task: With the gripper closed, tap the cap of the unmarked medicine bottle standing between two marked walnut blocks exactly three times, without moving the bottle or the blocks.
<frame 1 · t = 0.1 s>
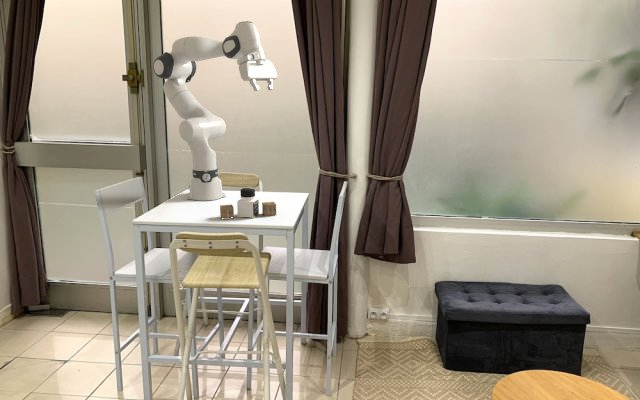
hand: (263, 90, 230), 52 cm above the table, tool tilted 20°, fingers open, 8 cm apart
walnut block one bar: (227, 217, 226), on the table
walnut block two bars: (269, 214, 231), on the table
medicine bottle: (248, 216, 229), on the table
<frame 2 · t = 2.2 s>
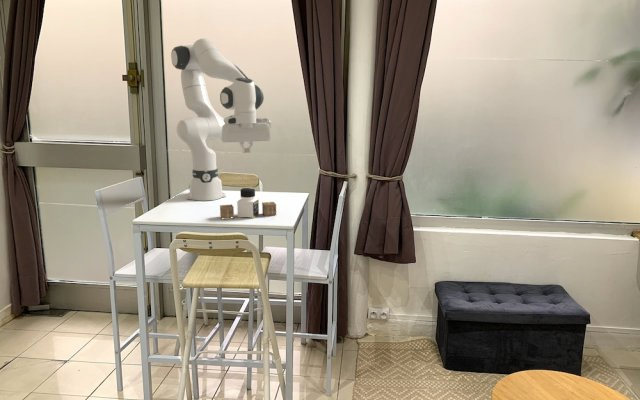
hand: (246, 152, 222), 27 cm above the table, tool pointing down, fingers closed
nothing on the table moved.
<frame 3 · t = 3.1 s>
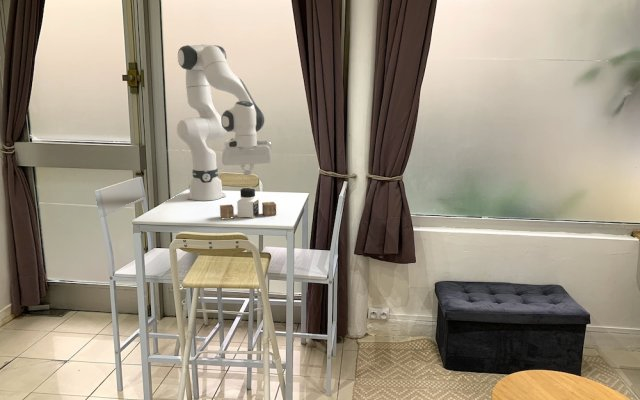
hand: (247, 174, 224), 18 cm above the table, tool pointing down, fingers closed
nothing on the table moved.
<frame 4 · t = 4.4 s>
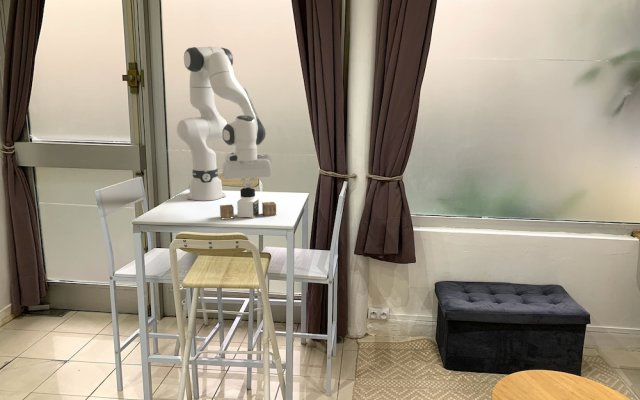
hand: (247, 188, 226), 12 cm above the table, tool pointing down, fingers closed, pressing on medicine bottle
medicine bottle: (248, 216, 229), on the table, touching gripper
everything else where it was.
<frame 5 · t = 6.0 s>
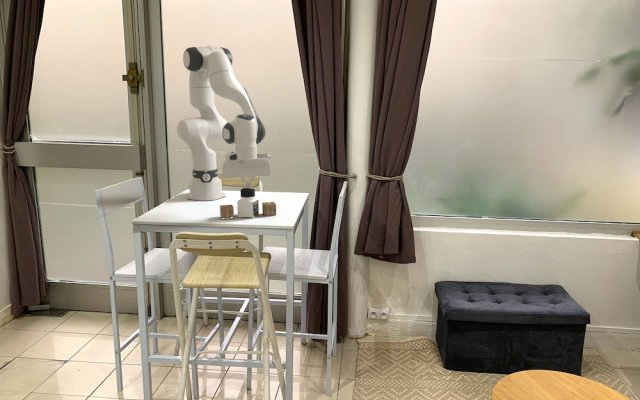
hand: (247, 187, 226), 12 cm above the table, tool pointing down, fingers closed
medicine bottle: (248, 216, 229), on the table
everything else where it was.
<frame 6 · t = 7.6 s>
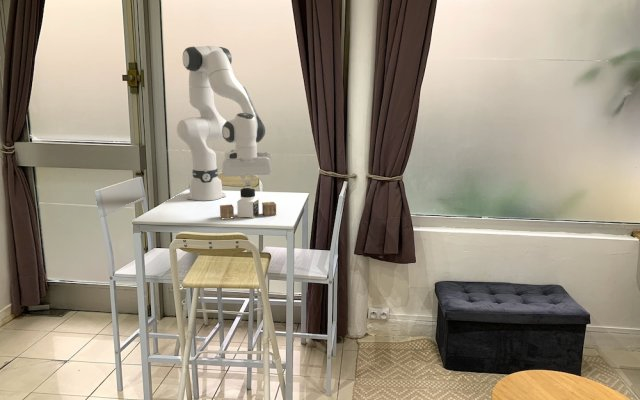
hand: (247, 185, 226), 13 cm above the table, tool pointing down, fingers closed
nothing on the table moved.
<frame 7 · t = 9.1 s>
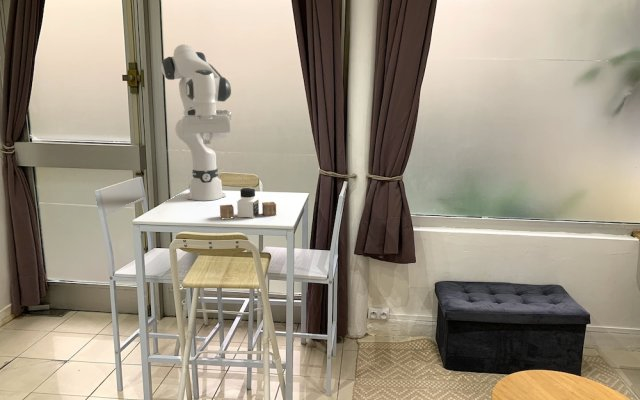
hand: (206, 144, 225), 30 cm above the table, tool pointing down, fingers closed
nothing on the table moved.
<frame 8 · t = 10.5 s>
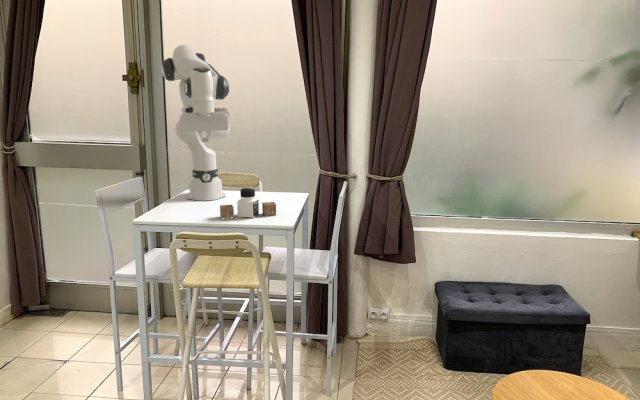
hand: (205, 141, 224), 31 cm above the table, tool pointing down, fingers closed
nothing on the table moved.
at the end: medicine bottle moved 0.2 cm from its start; medicine bottle tilted 0°; walnut block two bars moved 0.1 cm from its start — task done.
